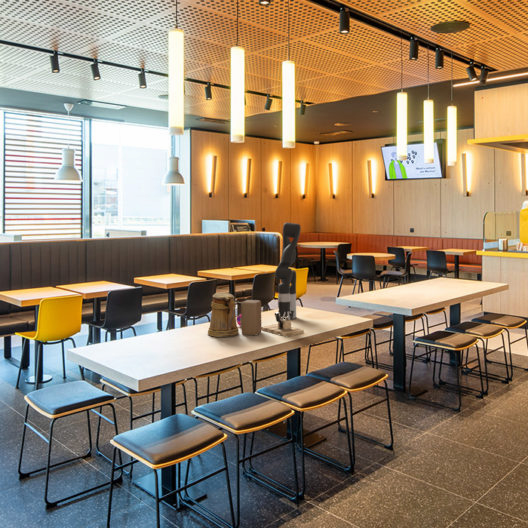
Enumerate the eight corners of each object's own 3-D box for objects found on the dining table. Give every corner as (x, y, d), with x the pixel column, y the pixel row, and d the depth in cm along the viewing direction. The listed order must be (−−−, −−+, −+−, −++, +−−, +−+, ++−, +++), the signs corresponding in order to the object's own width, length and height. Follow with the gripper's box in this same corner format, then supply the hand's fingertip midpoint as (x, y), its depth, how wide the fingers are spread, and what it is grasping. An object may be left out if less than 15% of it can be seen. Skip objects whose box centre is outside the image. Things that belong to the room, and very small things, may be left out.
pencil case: (244, 320, 368) (244, 307, 367) (258, 320, 366) (257, 307, 365) (235, 327, 347) (235, 313, 346) (249, 327, 345) (249, 313, 344)
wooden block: (262, 332, 331) (261, 300, 329) (256, 335, 322) (255, 302, 320) (246, 331, 334) (246, 299, 332) (241, 334, 325) (240, 302, 323)
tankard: (227, 329, 340) (226, 290, 338) (248, 336, 321) (247, 295, 319) (202, 333, 330) (201, 293, 327) (222, 340, 311) (221, 298, 308)
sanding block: (278, 328, 331) (277, 319, 330) (283, 327, 334) (283, 318, 333) (285, 330, 325) (285, 321, 325) (291, 329, 328) (291, 320, 328)
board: (261, 330, 337) (261, 326, 336) (278, 326, 345) (278, 323, 345) (286, 336, 318) (286, 333, 318) (303, 333, 327) (303, 329, 327)
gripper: (288, 298, 335) (289, 325, 337) (271, 301, 326) (271, 328, 328) (297, 299, 329) (297, 327, 331) (279, 302, 320) (279, 330, 322)
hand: (284, 327), depth 329 cm, fingers closed on sanding block, 4 cm apart
